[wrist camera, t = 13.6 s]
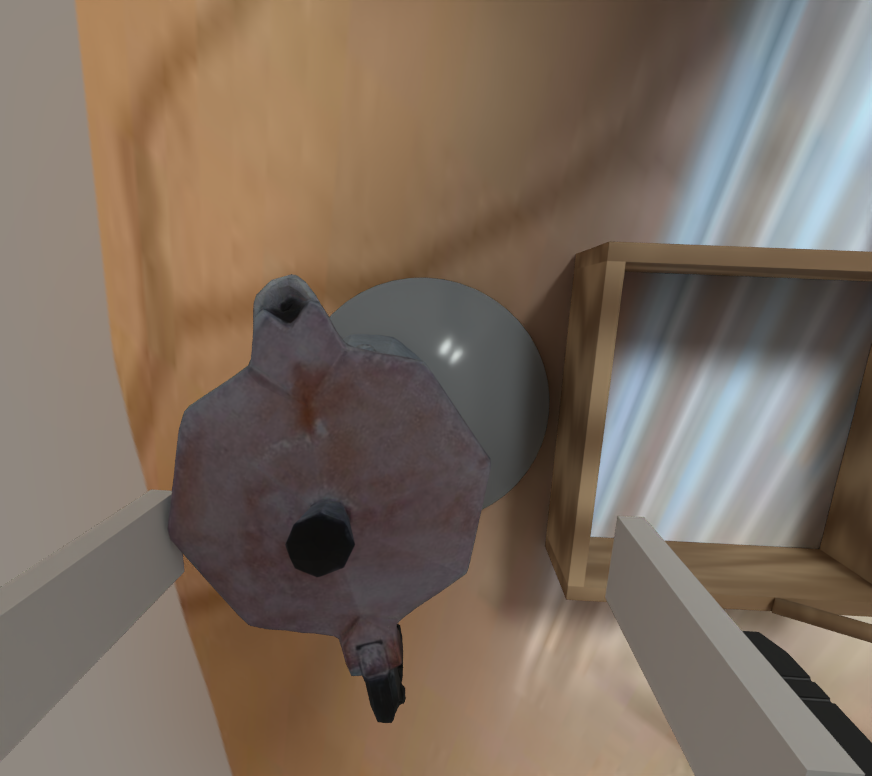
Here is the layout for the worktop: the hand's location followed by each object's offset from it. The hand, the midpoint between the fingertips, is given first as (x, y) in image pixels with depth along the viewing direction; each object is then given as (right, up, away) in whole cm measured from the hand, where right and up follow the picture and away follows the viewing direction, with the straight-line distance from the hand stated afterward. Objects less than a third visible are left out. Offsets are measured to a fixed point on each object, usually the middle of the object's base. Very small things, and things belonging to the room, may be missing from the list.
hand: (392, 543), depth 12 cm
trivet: (0, +3, +18) cm, 19 cm away
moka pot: (-3, +4, +17) cm, 18 cm away
